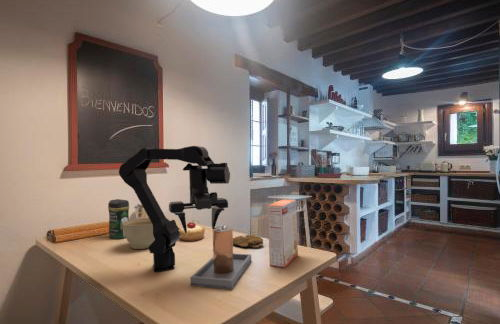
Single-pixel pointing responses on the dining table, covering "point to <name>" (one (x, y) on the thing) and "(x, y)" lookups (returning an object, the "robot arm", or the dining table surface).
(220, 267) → the copper cylinder
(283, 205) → the cracker box
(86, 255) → the dining table surface
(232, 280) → the gray tray
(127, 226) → the planter bowl
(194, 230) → the pastry
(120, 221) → the coffee jar
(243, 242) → the decorative rock
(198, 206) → the robot arm
